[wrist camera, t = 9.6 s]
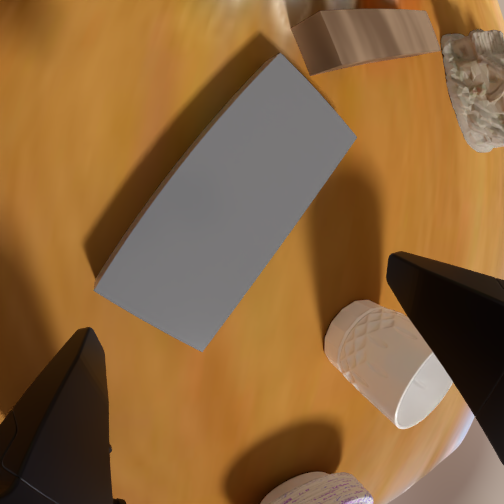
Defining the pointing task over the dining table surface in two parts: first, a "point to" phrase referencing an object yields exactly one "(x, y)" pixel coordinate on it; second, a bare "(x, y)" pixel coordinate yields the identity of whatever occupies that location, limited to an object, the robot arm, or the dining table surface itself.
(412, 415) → the white cup
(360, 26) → the walnut block
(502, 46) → the ceramic cottage
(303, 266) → the dining table surface
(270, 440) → the dining table surface
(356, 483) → the paper bowls
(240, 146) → the slate board
